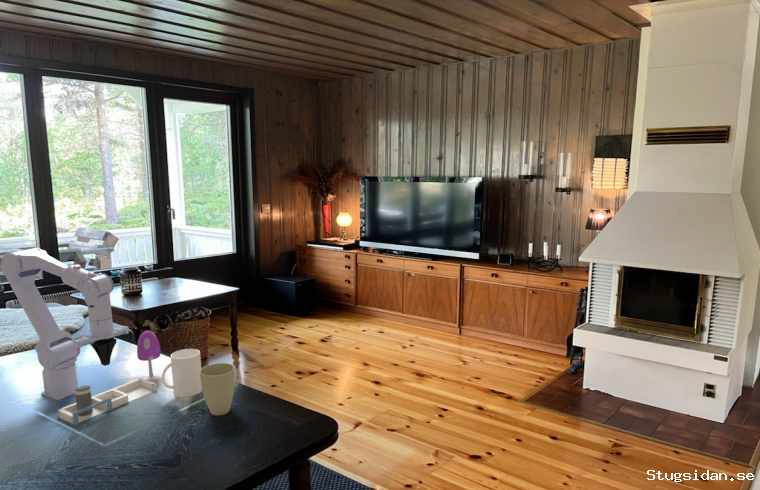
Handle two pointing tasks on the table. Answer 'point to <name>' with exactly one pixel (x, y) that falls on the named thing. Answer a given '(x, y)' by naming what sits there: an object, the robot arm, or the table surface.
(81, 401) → the plug
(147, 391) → the compartment tray
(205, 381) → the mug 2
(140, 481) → the table surface
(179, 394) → the mug
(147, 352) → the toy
